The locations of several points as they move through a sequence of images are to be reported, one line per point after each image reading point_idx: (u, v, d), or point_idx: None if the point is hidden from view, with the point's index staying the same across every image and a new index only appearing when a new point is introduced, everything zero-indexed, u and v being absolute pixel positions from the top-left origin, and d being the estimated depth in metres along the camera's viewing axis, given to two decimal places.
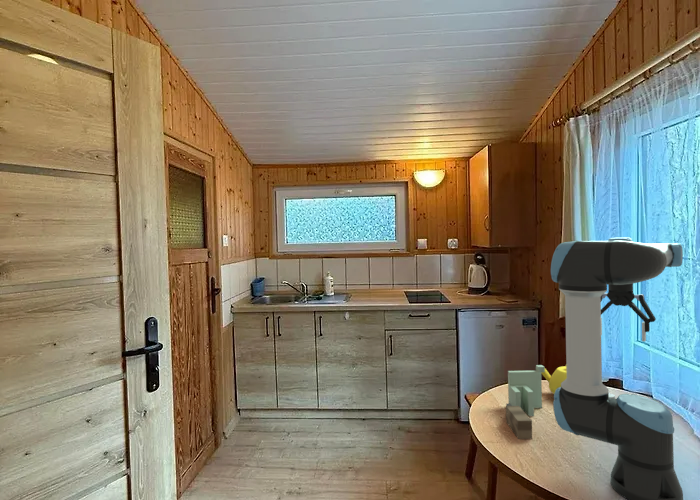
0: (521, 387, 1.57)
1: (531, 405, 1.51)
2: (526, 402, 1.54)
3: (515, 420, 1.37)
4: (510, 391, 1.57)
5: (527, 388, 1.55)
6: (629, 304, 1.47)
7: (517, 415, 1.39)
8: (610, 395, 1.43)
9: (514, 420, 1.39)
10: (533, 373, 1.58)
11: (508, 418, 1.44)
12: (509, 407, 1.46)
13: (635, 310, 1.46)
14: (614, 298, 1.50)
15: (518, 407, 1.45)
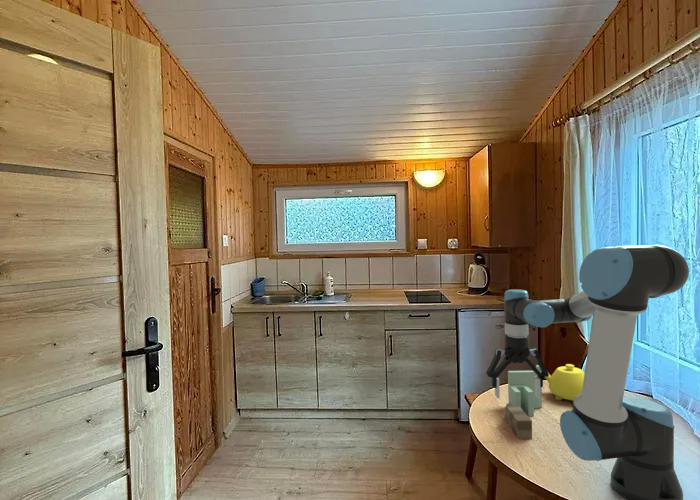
0: (521, 387, 1.57)
1: (531, 405, 1.51)
2: (526, 402, 1.54)
3: (515, 420, 1.37)
4: (510, 391, 1.57)
5: (527, 388, 1.55)
6: (527, 361, 1.39)
7: (517, 415, 1.39)
8: None
9: (514, 420, 1.39)
10: (533, 373, 1.58)
11: (508, 418, 1.44)
12: (509, 407, 1.46)
13: (532, 366, 1.39)
14: (514, 356, 1.39)
15: (518, 407, 1.45)
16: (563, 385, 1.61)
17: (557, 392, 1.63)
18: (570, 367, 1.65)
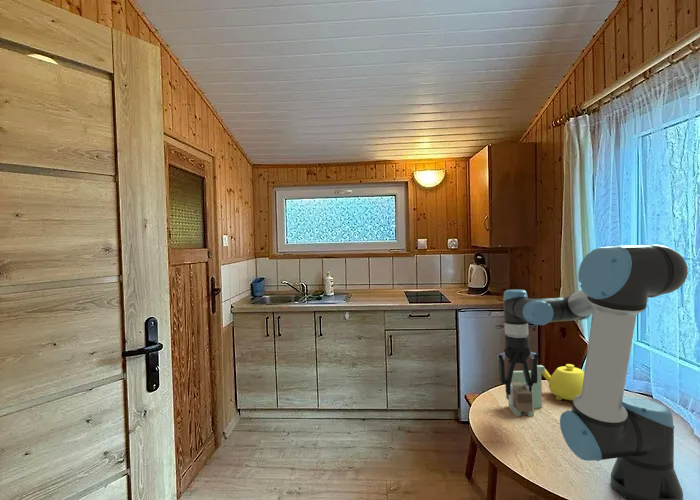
0: None
1: None
2: None
3: (515, 393, 1.37)
4: None
5: None
6: (524, 362, 1.38)
7: (517, 389, 1.38)
8: None
9: (514, 393, 1.38)
10: None
11: None
12: None
13: (526, 370, 1.39)
14: (514, 356, 1.38)
15: (518, 382, 1.45)
16: (563, 385, 1.61)
17: (557, 392, 1.63)
18: (570, 367, 1.65)
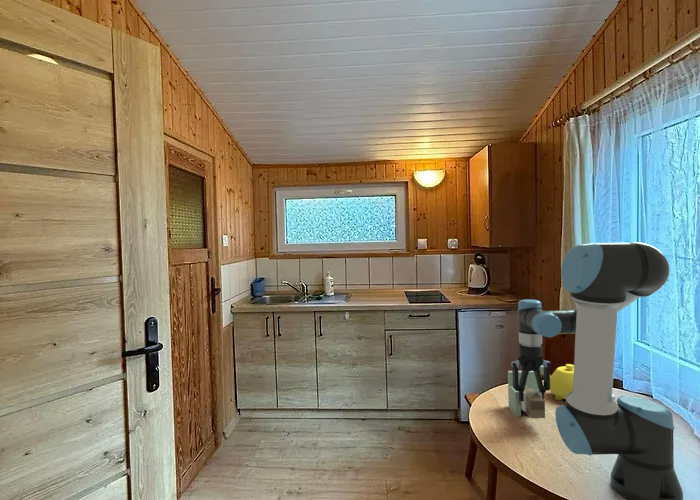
0: None
1: None
2: None
3: (528, 400, 1.41)
4: (510, 391, 1.57)
5: None
6: (538, 371, 1.42)
7: (530, 396, 1.43)
8: None
9: (527, 400, 1.42)
10: (533, 373, 1.58)
11: None
12: None
13: (539, 377, 1.43)
14: (528, 365, 1.42)
15: (530, 388, 1.49)
16: (563, 385, 1.61)
17: (557, 392, 1.63)
18: (570, 367, 1.65)
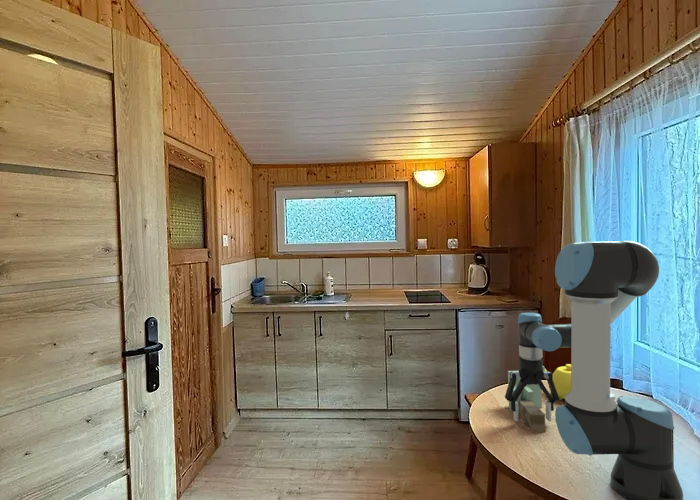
0: None
1: None
2: None
3: (528, 414, 1.41)
4: None
5: (527, 388, 1.55)
6: (540, 383, 1.42)
7: (530, 410, 1.43)
8: (610, 395, 1.43)
9: (527, 414, 1.43)
10: None
11: (521, 413, 1.48)
12: (522, 402, 1.50)
13: (544, 389, 1.43)
14: (528, 378, 1.42)
15: (530, 402, 1.49)
16: (563, 385, 1.61)
17: (557, 392, 1.63)
18: (570, 367, 1.65)
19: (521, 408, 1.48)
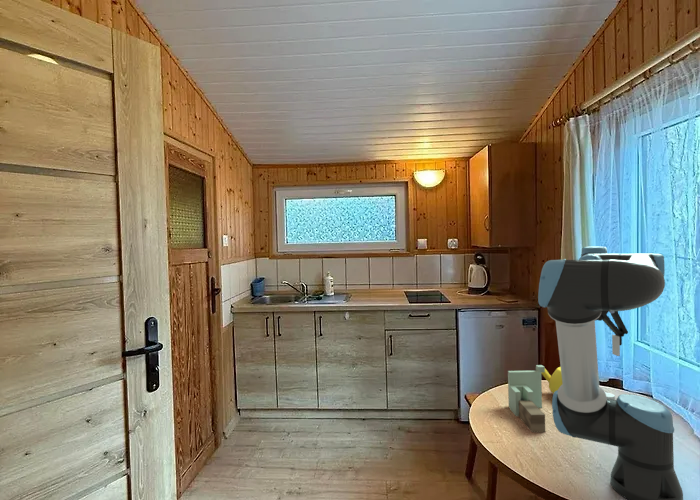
0: (521, 387, 1.57)
1: None
2: None
3: (528, 414, 1.41)
4: (510, 391, 1.57)
5: (527, 388, 1.55)
6: (607, 318, 1.36)
7: (530, 410, 1.43)
8: (610, 395, 1.43)
9: (527, 414, 1.43)
10: (533, 373, 1.58)
11: (521, 413, 1.48)
12: (522, 402, 1.50)
13: (611, 324, 1.37)
14: None
15: (531, 402, 1.49)
16: None
17: None
18: None
19: (521, 408, 1.48)
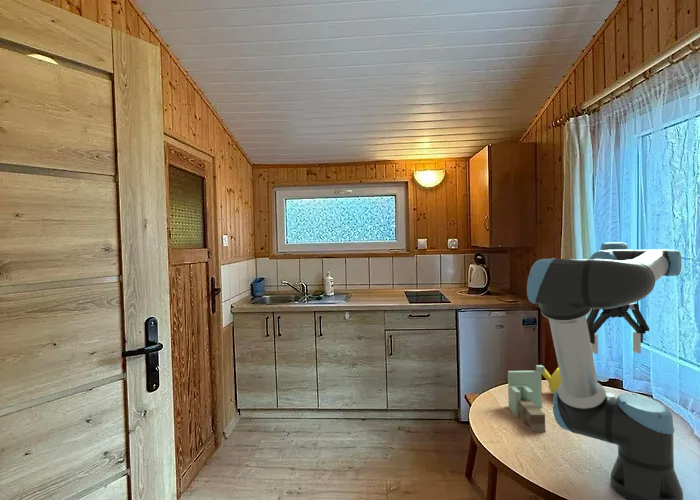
0: (521, 387, 1.57)
1: None
2: None
3: (528, 414, 1.41)
4: (510, 391, 1.57)
5: (527, 388, 1.55)
6: (627, 315, 1.35)
7: (530, 410, 1.43)
8: (610, 395, 1.43)
9: (527, 414, 1.43)
10: (533, 373, 1.58)
11: (521, 413, 1.48)
12: (522, 402, 1.50)
13: (632, 320, 1.35)
14: (613, 310, 1.35)
15: (531, 402, 1.49)
16: None
17: None
18: None
19: (521, 408, 1.48)
